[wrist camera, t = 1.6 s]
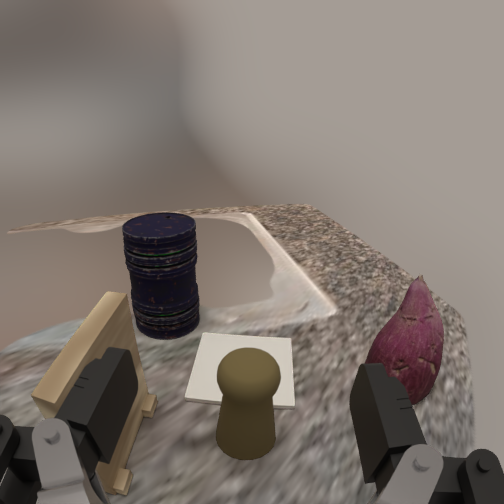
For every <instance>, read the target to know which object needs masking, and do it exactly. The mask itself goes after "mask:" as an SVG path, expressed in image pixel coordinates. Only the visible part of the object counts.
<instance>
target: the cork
mask: <svg viewBox="0 0 504 504" xmlns="http://www.w3.org/2000/svg"><path fill="white" fill-rule="evenodd" d="M280 381H281V373H280V367H279V365H278V363H277V362H276V360H275V359H274V357H273V356H271V355H270V354H269V353H268V352H266V351H263V350H261V349H257V348H248V347H244V348H239V349H236V350H233V351H231V352H229V353H228V354H227V355H226V356H225V357H224V358H223V359H222V360H221V362H220V364H219V365H218V369H217V383H218V386H219V388H220V391H221V393H222V394H223V396H222V402H221V407H220V413H219V419H218V425H217V430H216V441H217V444H218V446H219V447H220V449H221V450H222V451H223V452H224V453H226V454H227V455H229V456H230V457H233V458H236V459H240V460H253V459H256V458H260V457H262V456H264V455H265V454H267V453H268V452H269V451H270V450H271V449H272V448H273V446H274V443H275V440H276V437H275V423H274V409H273V396H274V394H275V393H276V392H277V390H278V387H279V384H280Z"/></svg>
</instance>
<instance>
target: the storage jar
mask: <svg viewBox="0 0 504 504" xmlns="http://www.w3.org/2000/svg"><path fill="white" fill-rule="evenodd" d="M195 229H196V223H195V220H194V219H193V218H192V217H190V216H188V215H184V214H179V213H152V214H146V215H142V216H138V217H135V218H132V219H130V220H128V221H127V222H125V223H124V224H123V226H122V230H123V236H124V253H125V257H126V265H127V269H128V270H129V273H130V280H131V286H132V289H131V299H132V306H133V311H134V314H135V317H136V324H137V327H138V329H139V330H140V331H141V332H142V333H143V334H144V335H146V336H148V337H151V338H155V339H162V340H168V339H176V338H180V337H182V336H185V335H187V334H189V333H190V332H192V331H193V330H194V329H195V328H196V327H197V326H198V323H199V320H200V319H199V295H198V285H197V283H196V275H195V274H196V273H195V264H196V262H197V253H196V251H197V240H196V232H195Z"/></svg>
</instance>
